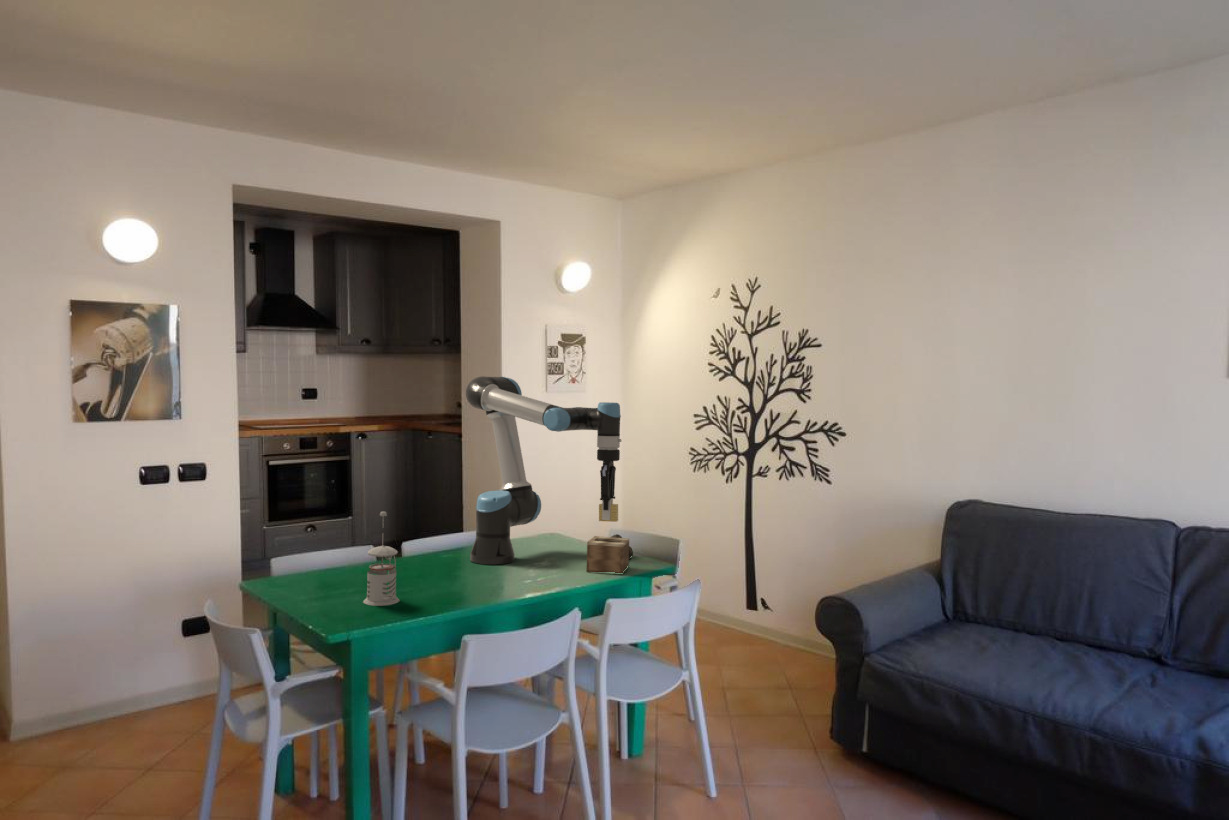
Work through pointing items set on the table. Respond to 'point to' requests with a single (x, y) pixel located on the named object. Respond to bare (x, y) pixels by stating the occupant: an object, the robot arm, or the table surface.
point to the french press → (381, 577)
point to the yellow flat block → (613, 513)
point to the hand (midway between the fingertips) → (607, 518)
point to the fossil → (629, 546)
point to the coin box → (607, 554)
